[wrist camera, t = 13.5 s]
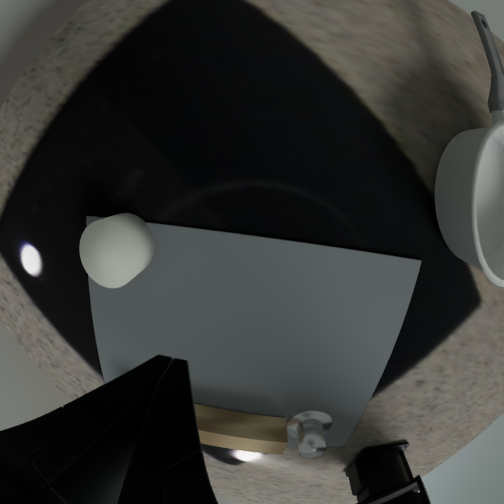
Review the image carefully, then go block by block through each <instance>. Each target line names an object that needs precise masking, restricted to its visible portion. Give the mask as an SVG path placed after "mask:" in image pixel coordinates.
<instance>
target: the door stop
mask: <svg viewBox="0 0 504 504" xmlns="http://www.w3.org/2000/svg"><path fill="white" fill-rule="evenodd" d="M154 250H155V243H154V238H153V234H152V232H151V230H150V228H149V226H148V225H147V224H146V223H145V221H144V220H142V219H141V218H140V217H138V216H136V215H134V214H131V213H121V214H117V215H114V216H110V217H107V218H104V219H100V220H97V221H94V222H93V223H91V224H90V225H89V226H88V227H87V228H86V229H85V230H84V232H83V234H82V237H81V240H80V257H81V261H82V264H83V266H84V269H85V270H86V272H87V273H88V275H89V276H90V277H91V278H92V279H93V280H94V281H95V282H96V283H98V284H99V285H101V286H104V287H107V288H119V287H122V286H124V285H125V284H127V283H128V282H129V281H130V280H132V279H133V278H134V277H135V276H136V275H138V274H139V273H140V272H141V271H143V270H144V269H145V268H146V267H147V266H148V265H149V264H150V262H151V260H152V258H153V255H154Z"/></svg>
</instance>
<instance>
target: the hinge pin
mask: <svg viewBox="0 0 504 504" xmlns="http://www.w3.org/2000/svg"><path fill="white" fill-rule="evenodd" d="M331 426H332V418H331V416H330V415H329V414H327V413H326V412H323V411H317V410H311V411H305V412H301V413H299V414H296V415H295V416H293V417H292V418H290V419H289V421H288V422H287V433H288V434H289V435H290V436H292V437H294V438H297V439H298V447H299V454H300V455H301V456H303V457H307V458H311V457H317V456H319V455H321V454H323V453H324V452H325V451H326V443H325V438H324V433H326V432H327V431H328V430H329V429H330V428H331Z"/></svg>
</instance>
